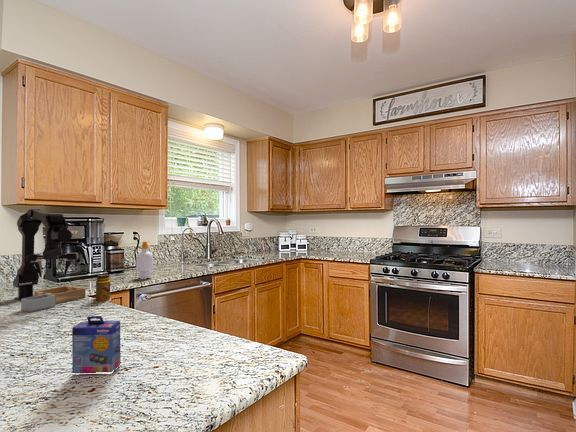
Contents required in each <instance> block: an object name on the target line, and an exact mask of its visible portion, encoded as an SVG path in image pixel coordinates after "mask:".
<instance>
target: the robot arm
mask: <svg viewBox="0 0 576 432" xmlns="http://www.w3.org/2000/svg"><path fill="white" fill-rule="evenodd" d="M41 224H42V225H44V227H45V228H44V232H45V245H44V249H43V251H42V255H41V253H35V235H36V234H37V233H38V232H39V230H40V226H42V225H41ZM16 226H17V230H18V231H19V233H20V234H21V236H22V237H21V265H20V267H18V269H17V271H16V275H15V277H14V279H13V282H12V285H13V287H14V288H17V289H18V290H17V294H18V295H17V297H14V299H15V300H21V299H23V298H29V297H34V286H38V283H39V278H42V276H43V268H42V267H43V266H42V264H43V263H42V260H45V261H48V260H59V259H66V260H65V267H64V276H67V274H68V271H69V269H70V266H71V264H72V263H73V262H75V261H76V260H78V259H79V258H80V257H79V253H78V252H67V253H66V254H63V248H62V243H68V242H70V241H71V240H72V237H73V234H72V231H71V230H69V226H68V223H67V221H66V218H65V216H64V214H62V213H50V212H47V211H45V210H42V209H40V208H30V209H28V210H27V212H25V213H23V214H21V215H20V216H19V218H18V219H17V222H16Z"/></svg>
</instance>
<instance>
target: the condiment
mask: <svg viewBox="0 0 576 432" xmlns="http://www.w3.org/2000/svg"><path fill="white" fill-rule="evenodd" d="M110 301H112V298H111V280H110V274H99V275H97V276H96V282H95V298H91V299H90V303H91V304H93V303H102V302H110Z"/></svg>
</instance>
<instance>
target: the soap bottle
mask: <svg viewBox="0 0 576 432" xmlns="http://www.w3.org/2000/svg"><path fill="white" fill-rule="evenodd" d="M148 243H150V241H142V244H141V251H139V252H138V253H137V254H136V262H135V263H136V271H137V272H138V279H139V278H140V279H139V280H147V279H146V278H149V279H151V278H152V271H153V270H154V256H153V253H152V252H151V251H149V244H148Z"/></svg>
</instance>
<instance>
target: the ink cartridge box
mask: <svg viewBox="0 0 576 432" xmlns="http://www.w3.org/2000/svg"><path fill="white" fill-rule="evenodd" d="M86 318H87V320H86V321H80V322H79V323H77V324H76V325H74V326H72V329H71V330H72V332H71V333H72V335H71V337H72V339H71V340H72V341H71V343H72V344H71V346H72V350H71V352H72V353H71V360H72V361H71V364H72V369H71V370H72V373H96V372H112V371H113V370H115V369H116V368H117V367H118V366H119V365H120V364H121V361H122V360H121V321H120V320H104V319H103V316H102V315H96V316H95V315H91V316H86ZM93 319H94V320H93ZM95 319H96V320H95ZM72 373H71V374H72Z"/></svg>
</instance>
